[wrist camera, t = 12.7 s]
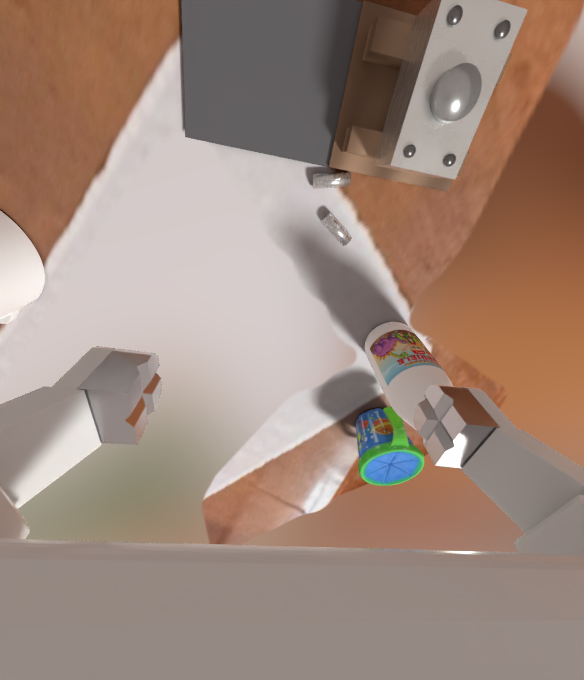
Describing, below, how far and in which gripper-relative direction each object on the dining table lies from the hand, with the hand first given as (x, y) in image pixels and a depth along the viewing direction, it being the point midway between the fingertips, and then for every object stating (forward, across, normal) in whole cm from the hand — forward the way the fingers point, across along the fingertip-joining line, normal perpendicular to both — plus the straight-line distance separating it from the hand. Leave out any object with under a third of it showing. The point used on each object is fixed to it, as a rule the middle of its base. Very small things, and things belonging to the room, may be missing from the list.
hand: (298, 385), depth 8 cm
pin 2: (+28, -6, +1) cm, 29 cm away
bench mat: (+29, +3, -12) cm, 32 cm away
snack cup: (+29, -23, +33) cm, 50 cm away
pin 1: (+29, -5, -4) cm, 30 cm away
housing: (+26, -11, -12) cm, 30 cm away
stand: (+29, -11, -12) cm, 33 cm away
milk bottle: (+29, -19, +15) cm, 38 cm away
